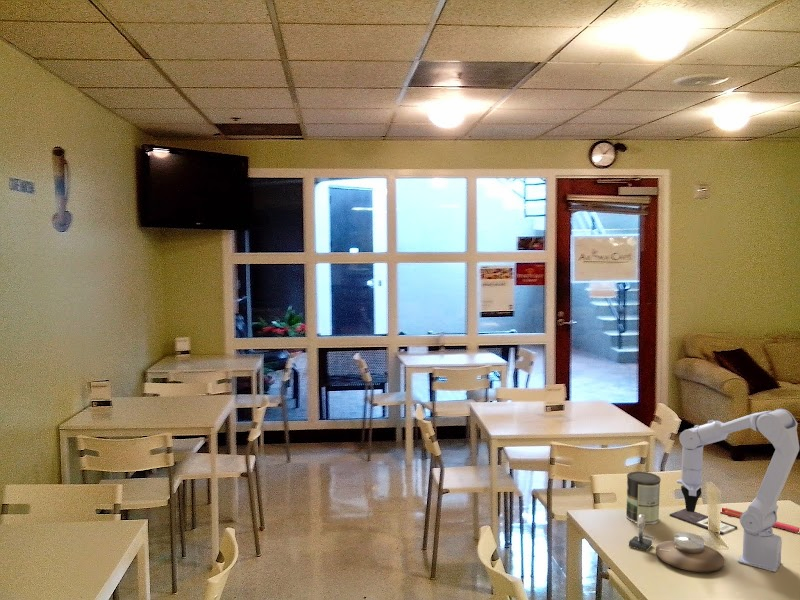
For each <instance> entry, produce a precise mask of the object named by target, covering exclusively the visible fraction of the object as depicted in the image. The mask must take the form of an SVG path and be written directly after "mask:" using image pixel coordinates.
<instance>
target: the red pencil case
mask: <svg viewBox="0 0 800 600" xmlns="http://www.w3.org/2000/svg"><path fill="white" fill-rule="evenodd" d="M742 513H744V511H739V510H734V509H731V508H728V507H722V513H721V514H724V515H728V516H732V517H736V518H739V519H740V517H741V515H742ZM776 527H777V528H776ZM772 528H776V529H780V528H781V529H780V530H783V529H785V530H784V531H787V530H789V531H788V532H791V531H793V532H792V533H794V532H796V534H799V533H800V527H799V526H796V525H793V524H792V525H791V524H787V523H784V522H781V521H778V520H777V521H776V523H775V524H774V525H773V527H772ZM798 532H799V533H798Z"/></svg>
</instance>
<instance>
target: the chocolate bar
mask: <svg viewBox="0 0 800 600" xmlns="http://www.w3.org/2000/svg"><path fill="white" fill-rule="evenodd" d="M669 516H670V517H672V518H675V519H677V520H680V521H683V522H684V523H685V522H686V523H689V524H691V525H693V526H696V527H698V528H702V529H705V530H707V531H709V530H708V516H709V515H707V514H706V515H705V514H702V513H700V512H697V511H694V512H687V510H686V507H685V508H684V509H680V510H677V511H674V512H672V513H669ZM720 521H721V523H720V534H719V535H720V536H721V535H724V534H726V533H729V532H731V531H735V530H736V529H738V526H736V525H735V524H734V525H733V524H732V523H728V522H726V521H723V520H720Z"/></svg>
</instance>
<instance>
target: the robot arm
mask: <svg viewBox="0 0 800 600" xmlns="http://www.w3.org/2000/svg"><path fill="white" fill-rule="evenodd" d="M798 424H799V423H798V421H797V420H796V418H795V417H794V415H793V414H792V413H791V412H790V411H789V410H787V409H785V408H776V409H774V410H764V411H761V412H760V411H759V412H754V413H751V414H748V415H745V416H742V417H739V418H735V419H733V420H729V421H727V422H722V421H720V420H714V419H711V420H707V423H705V424H701V425H699V424H696V425H694V426H693V427H691V428H688V429H684V430H683V431H682V432H680V434H679V436H678V440H679V442H680V444H681V446H682V449H681V450H682V452H681V478H680V479H677V480H676V483H677V484H680V485H681V486H680V489H681V493H682V496H683V497H684V504H685V508H686V510H687V512H696V507H697V503H698V500H699V498H700V496H702V494H703V493H702V487H703V481H702V480H703V462H704V461H703V458H704V455H703V454H704V447H705V446H707V445H711V444H713V443H717V442H721V441H724V440H726V439H727V437H728V435H729V434H732V433H735V432H739V431H743V430H746V429H751V430H753V431H755V432H757V431H759V433H760V434H762V436H764V438H766V439H767V440H768V442H769V443H771V444H772V446H773V448H774V449H775V450H774V452H773V455H772V456H771V460H770V462H769V465H768V466H767V469H766V472H765V474H764V477H763V479H762V482H761V484H760V486H759V489H758V490H757V493H756V496H755V498H754V499H753V500H752V502H750V504H749V505H748V507H747V509H746V510H745V511H743V513H742V515H741V517H740V518H739V522H740V525H741V527H742V529H743V534H742V535H743V540H742V554H741V555H740V556H739V558H738V559H737V562H738V563H741V564H744V565H747V566H752V567H754V568H760V569H763V570H766V571H770V572H773V573H777V571H778V569H779V567H780V565H781V564H782V543H783V539H782V536H780V535H777V534H775V533H774V531H773V527H772V526H773V525H774V524H775V523H776V521H777V522H778V514H777V512H778V509H779V506H778V505H777V503H778V501H779V498H780V496H781V494H782V491H783V489H784V486H785V484H786V483H787V479H788V478H789V475H790V473H791V470H792V467H793V465H794V463H795V461H796V459H797V456H798V454H799V452H800V441H799V437H798V430H797V429H798Z"/></svg>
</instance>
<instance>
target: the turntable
mask: <svg viewBox="0 0 800 600" xmlns="http://www.w3.org/2000/svg"><path fill="white" fill-rule="evenodd" d="M722 554H723V553H721V552H719V551H718V550H716V549H714V548H712V547H710V546H707V545H705V544H704V552H703V553H701V554H687V553H683V552H680V551H678V550H677V549H675V548H674V539H673V540H667V541H666V540H665V541H662V542H660V543H657V545H656V547H655V555H656V556H657V557H658V558H659V559H660V560H661V562H664V563H666V564H668V565H670V566H672V567H674V568H678V569H682V570H686V571H691V572H696V573H697V572H699V573H701V572H702V573H708V572H710V573H711V572H715V571H719V570H721V569H722V568H723V567H724V566H725V559H726V558H724V556H723V555H722Z"/></svg>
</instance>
